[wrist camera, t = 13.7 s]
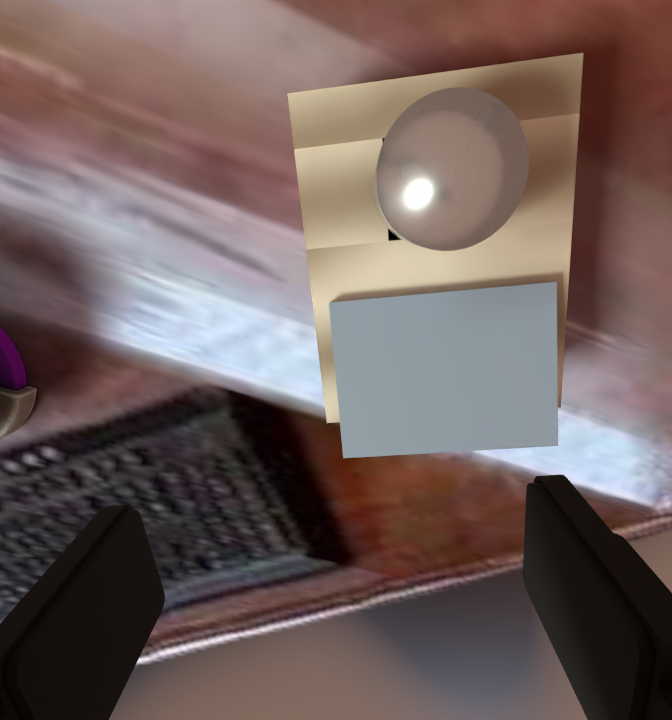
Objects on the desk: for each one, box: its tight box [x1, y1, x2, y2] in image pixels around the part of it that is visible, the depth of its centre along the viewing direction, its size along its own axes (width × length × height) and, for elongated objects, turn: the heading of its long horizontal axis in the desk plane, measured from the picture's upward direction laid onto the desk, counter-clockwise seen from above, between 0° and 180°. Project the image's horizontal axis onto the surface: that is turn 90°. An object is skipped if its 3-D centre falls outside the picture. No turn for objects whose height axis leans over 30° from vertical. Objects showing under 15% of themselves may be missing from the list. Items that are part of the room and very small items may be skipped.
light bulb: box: [373, 87, 529, 251], centre depth 21 cm, size 6×6×10 cm
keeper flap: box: [329, 282, 558, 458], centre depth 23 cm, size 9×12×1 cm
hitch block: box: [288, 53, 583, 423], centre depth 25 cm, size 18×14×6 cm
